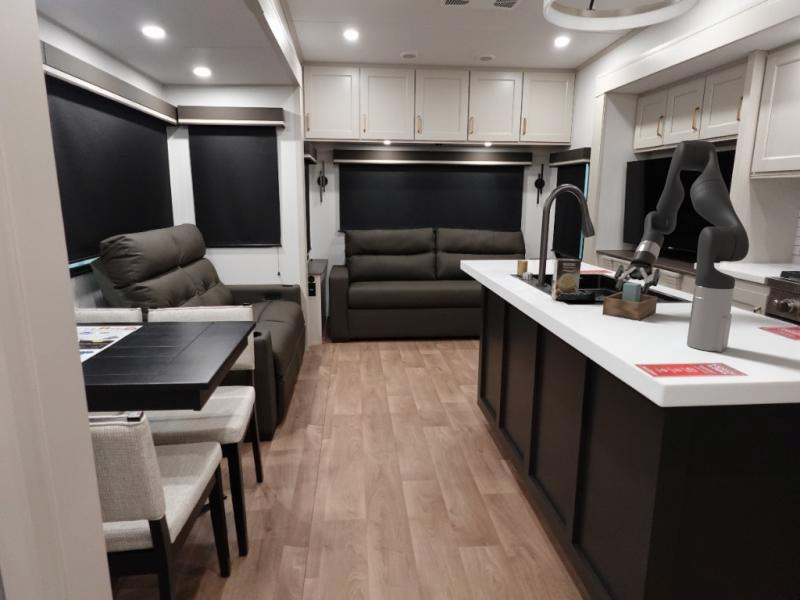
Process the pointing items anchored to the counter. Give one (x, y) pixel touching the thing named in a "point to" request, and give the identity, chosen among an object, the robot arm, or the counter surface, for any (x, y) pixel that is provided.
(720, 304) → the robot arm
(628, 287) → the block
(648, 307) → the crate
